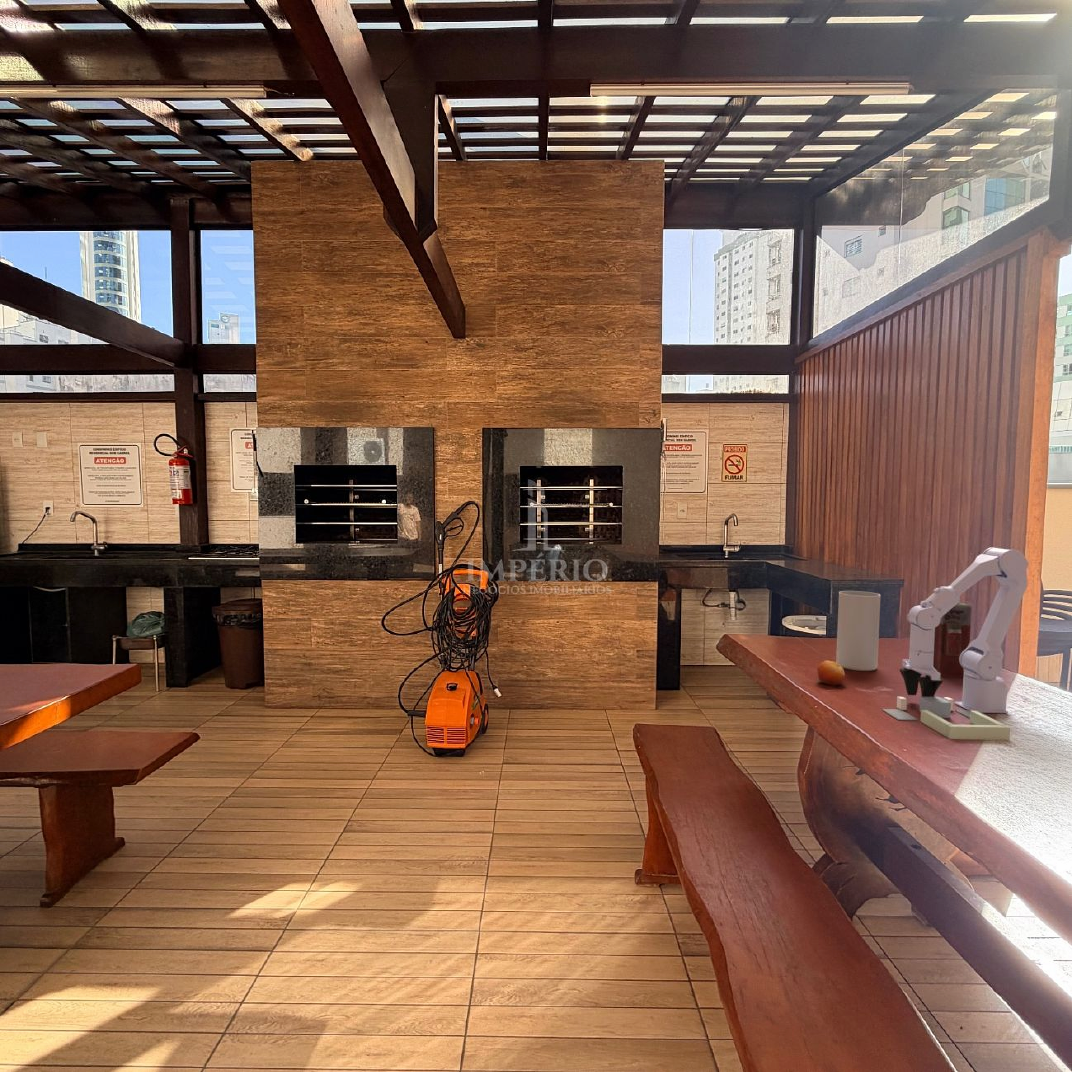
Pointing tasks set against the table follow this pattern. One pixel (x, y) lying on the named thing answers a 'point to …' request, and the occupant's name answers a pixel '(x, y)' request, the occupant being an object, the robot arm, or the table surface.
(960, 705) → the robot arm
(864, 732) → the table surface
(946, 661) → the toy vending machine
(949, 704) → the block
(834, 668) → the fruit
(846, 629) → the cylinder vase
